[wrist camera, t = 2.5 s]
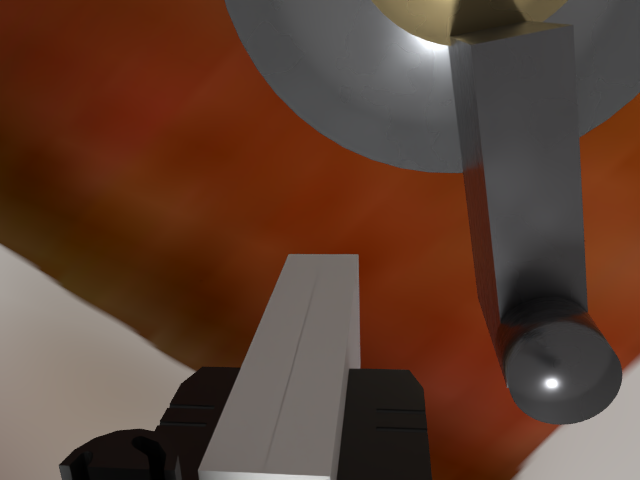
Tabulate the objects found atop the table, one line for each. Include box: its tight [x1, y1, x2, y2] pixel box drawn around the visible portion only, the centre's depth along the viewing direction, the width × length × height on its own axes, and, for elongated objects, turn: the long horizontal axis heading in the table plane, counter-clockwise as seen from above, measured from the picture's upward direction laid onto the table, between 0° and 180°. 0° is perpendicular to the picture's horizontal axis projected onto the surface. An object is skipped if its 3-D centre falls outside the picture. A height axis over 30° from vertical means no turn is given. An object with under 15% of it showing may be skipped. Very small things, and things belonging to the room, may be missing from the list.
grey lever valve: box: [371, 0, 622, 425], centre depth 17 cm, size 18×13×8 cm
